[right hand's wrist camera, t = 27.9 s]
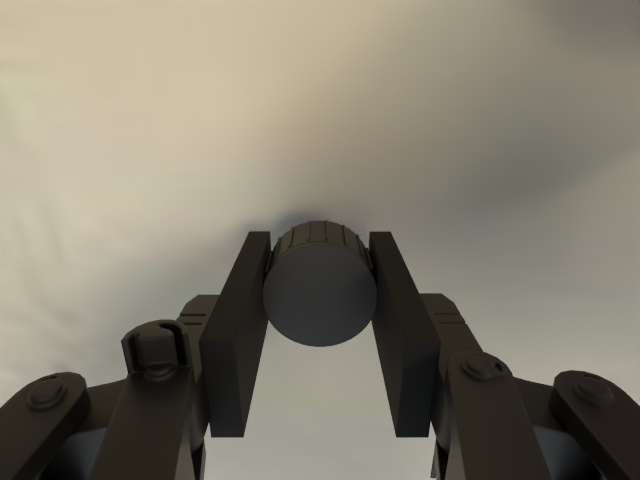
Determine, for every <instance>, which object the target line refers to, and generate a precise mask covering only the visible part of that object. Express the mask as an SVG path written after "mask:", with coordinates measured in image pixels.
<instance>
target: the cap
mask: <svg viewBox="0 0 640 480" xmlns="http://www.w3.org/2000/svg"><path fill="white" fill-rule="evenodd" d="M373 270H374V268H373V264H372V261H371V257H370V254H369V250H368V248H366V247H365V245H364V244H363V242H362V241H361V239H360V238H359V235H358V234H357V235H356V234H355V233H354V232H352V231H351V230H350V229H348V228H346V227H345V226H344V225H340V224H337V223H334V222H330V221H328V220H326V221H308V222H306V223H302V224H300V225H297V226H295V227H292V228H291V229H290V230H289V231H288V232H286V233H285V234H284V235H283V236H282V237H279V238H278V242H277V243H276V245H275V247H274V249H273V251H271V252H270V256H269V259H268V262H267V266H266V269H265V273H264V274H266V276H265V280H264V283H263V305H264V311H265V313H266V316H267V317H268V319H269V321H270V322H271V324H272V325H273V326H274V327H275V328H276V329H277V331H279V332H280V333H281V334H282V335H284V336H285V337H287V338H288V339H290V340H292V341H294V342H297V343H300V344H303V345H308V346H315V347H325V346H332V345H337V344H340V343H343V342H345V341H348V340H350V339H352V338H353V337H355V336H356V335H358V334H359V333H360V332H361V331H362V330H363V329H364V328H365V327H366V326H367V325H368V324H369V322H370V321H371V319H372V317H373V315H374V313H375V310H376V301H377V284H376V280H375V277H374V273H373Z"/></svg>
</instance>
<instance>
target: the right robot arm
mask: <svg viewBox="0 0 640 480" xmlns="http://www.w3.org/2000/svg"><path fill="white" fill-rule="evenodd" d="M270 252H271V240H270V232H249V233H248V235H247V238H246V240H245V242H244V244H243V246H242V248H241V251H240V253H239V255H238V257H237V259H236V261H235V264H234V266H233V268H232V270H231V272H230V274H229V276H228V279H227V281H226V283H225V285H224V287H223V289H222V292H221V294H220V295H197V296H196V297H195V298H193V299H192V300H191V301H189V302H188V303H187V304H186V305H185V307H184V308H183V310H182V312H181V313H180V316H179V317H178V318H177V320H176V321H175V320H157V321H152V322H148V323H145V324H142V325H140V326H137V327H136V328H134V329H133V330H131V331H130V332H128V333H127V334H126V335H125V336H124V338H123V339H122V340H121V343H122V348H123V352H124V356H125V361H126V365H127V370H128V375H127V378H126V379H123V380H120V381H116V382H112V383H108V384H103V385H99V386H94V387H89V388H87V385H86V381H85V379H84V378H83V377H82V376H81V375H80V374H77V373H72V372H63V373H55V374H51V375H48V376H45V377H42V378H40V379H38V380H36V381H34V382H32V383H29V384H28V385H26V386H25V387H24V388H22V389H21V390H20V391H18V392H17V393H16V394H15V395H14V396H13V397H12V398H10V399H9V400H8V401H7V402H6V403H5V404H4V405H3V406H2V407H1V408H0V480H204V471H205V460H206V450H205V443H204V436H205V433H206V429H207V426H208V423H210V430H211V437H244V432H245V428H246V423H247V418H248V414H249V409H250V404H251V400H252V395H253V390H254V385H255V381H256V376H257V371H258V367H259V362H260V357H261V353H262V348H263V343H264V339H265V334H266V329H267V324H268V320H269V319H268V317H267V316H266V313H265V311H264V305H263V283H264V280H265V276H266V274H264V273H265V269H266V266H267V262H268V259H269V256H270ZM369 254H370V257H371V261H372V264H373V268H374V270H373V273H374V277H375V280H376V284H377V301H376V310H375V313H374V315H373V317H372V319H371V321H372V326H373V330H374V335H375V340H376V344H377V349H378V354H379V359H380V363H381V368H382V373H383V377H384V382H385V387H386V391H387V396H388V401H389V405H390V410H391V415H392V420H393V424H394V429H395V434H396V437H428V436H429V428H430V421H431V422H432V425H433V428H434V431H435V434H436V443H435V450H434V457H433V464H432V470H431V477H430V478H436V480H640V406H639V405H638V404H637V403H636V402H635V401H634V400H633V399H632V398H631V397H630V396H629V395H628V394H626V393H625V392H624V391H623V390H622V389H620V388H619V387H618V386H616V385H615V384H614V383H612V382H610V381H608V380H606V379H604V378H602V377H600V376H598V375H595V374H591V373H588V372H584V371H574V370H570V371H565V372H561V373H560V374H558V375H557V376H556V377H555V380H554V383H553V386H549V385H544V384H540V383H535V382H531V381H526V380H523V379H519V378H516V377H513V375H512V372H511V371H510V369H509V368H508V367H507V365H506V364H505V363H503V362H502V361H501V360H499V359H498V358H497V357H494V356H492V355H490V354H488V353H485V352H483V350H482V349H481V347H480V345H479V344H478V342H477V340H476V339H475V337H474V335H473V334H472V332H471V330H470V329H469V327H468V325H467V324H465V320H464V319H463V317H462V315H460V312H459V310H458V309H457V307H456V305H455V304H454V302H452V301H451V300H450V299H448V298H447V297H446V296H444V295H443V294H419V292H418V290H417V288H416V286H415V284H414V281H413V279H412V277H411V275H410V273H409V271H408V268H407V266H406V264H405V262H404V260H403V258H402V255H401V253H400V251H399V249H398V247H397V245H396V243H395V240H394V238H393V236H392V234H391V232H370V234H369Z"/></svg>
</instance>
